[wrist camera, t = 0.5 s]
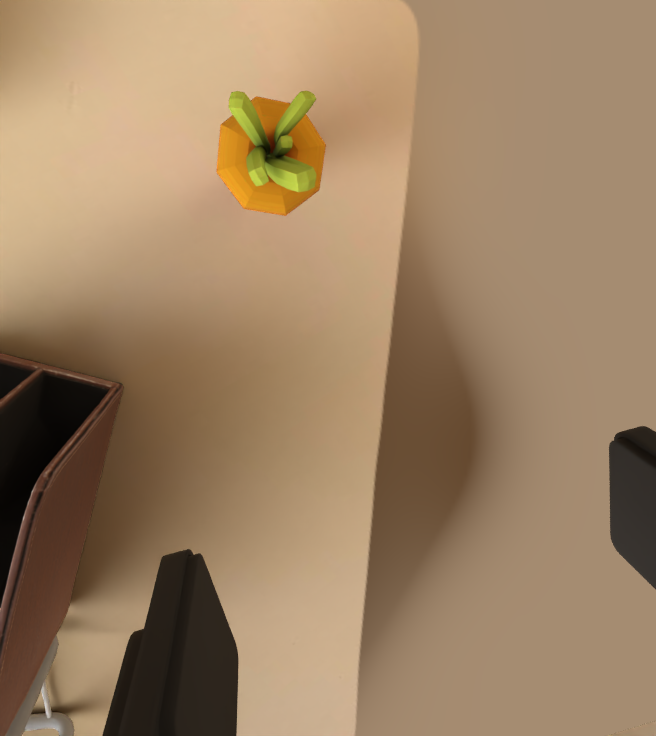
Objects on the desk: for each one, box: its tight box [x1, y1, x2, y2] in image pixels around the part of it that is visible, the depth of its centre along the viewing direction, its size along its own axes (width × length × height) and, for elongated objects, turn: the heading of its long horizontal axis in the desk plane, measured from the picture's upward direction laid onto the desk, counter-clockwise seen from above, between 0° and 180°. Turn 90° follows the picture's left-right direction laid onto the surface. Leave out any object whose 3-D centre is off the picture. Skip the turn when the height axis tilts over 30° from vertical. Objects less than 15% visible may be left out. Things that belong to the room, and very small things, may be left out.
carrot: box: [217, 91, 326, 216], centre depth 25 cm, size 5×5×15 cm
